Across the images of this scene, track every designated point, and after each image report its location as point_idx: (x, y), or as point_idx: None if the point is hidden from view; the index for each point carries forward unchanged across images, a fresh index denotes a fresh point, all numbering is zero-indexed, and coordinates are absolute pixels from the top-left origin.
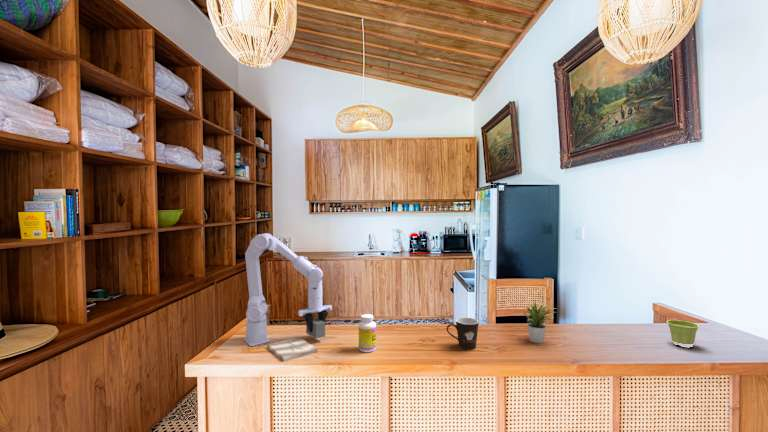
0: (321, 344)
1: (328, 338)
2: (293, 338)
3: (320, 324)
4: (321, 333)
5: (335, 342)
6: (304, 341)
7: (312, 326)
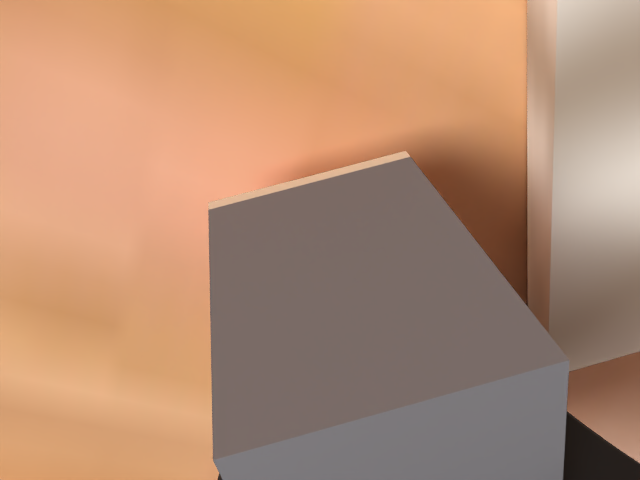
0: (305, 54)
1: (123, 277)
2: (631, 349)
3: (392, 377)
4: (305, 227)
5: (6, 35)
6: (574, 188)
7: None
